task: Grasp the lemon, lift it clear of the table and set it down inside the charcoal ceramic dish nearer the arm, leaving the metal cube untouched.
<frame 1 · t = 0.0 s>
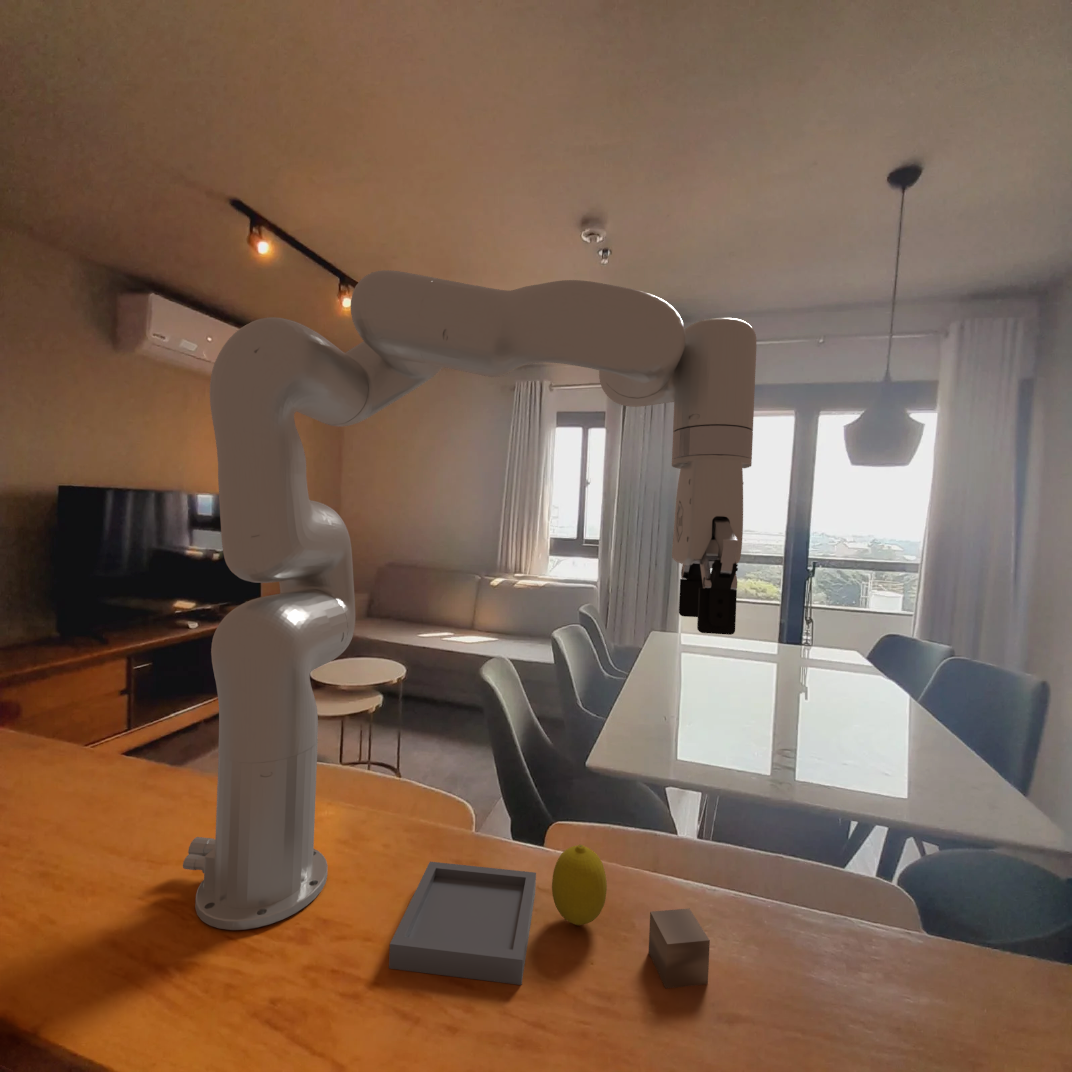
hand: (703, 624, 52), 31 cm above the worktop, tool pointing down, fingers open, 9 cm apart
dish: (469, 926, 53), on the worktop
metal cube: (677, 968, 49), on the worktop
lemon: (577, 926, 54), on the worktop
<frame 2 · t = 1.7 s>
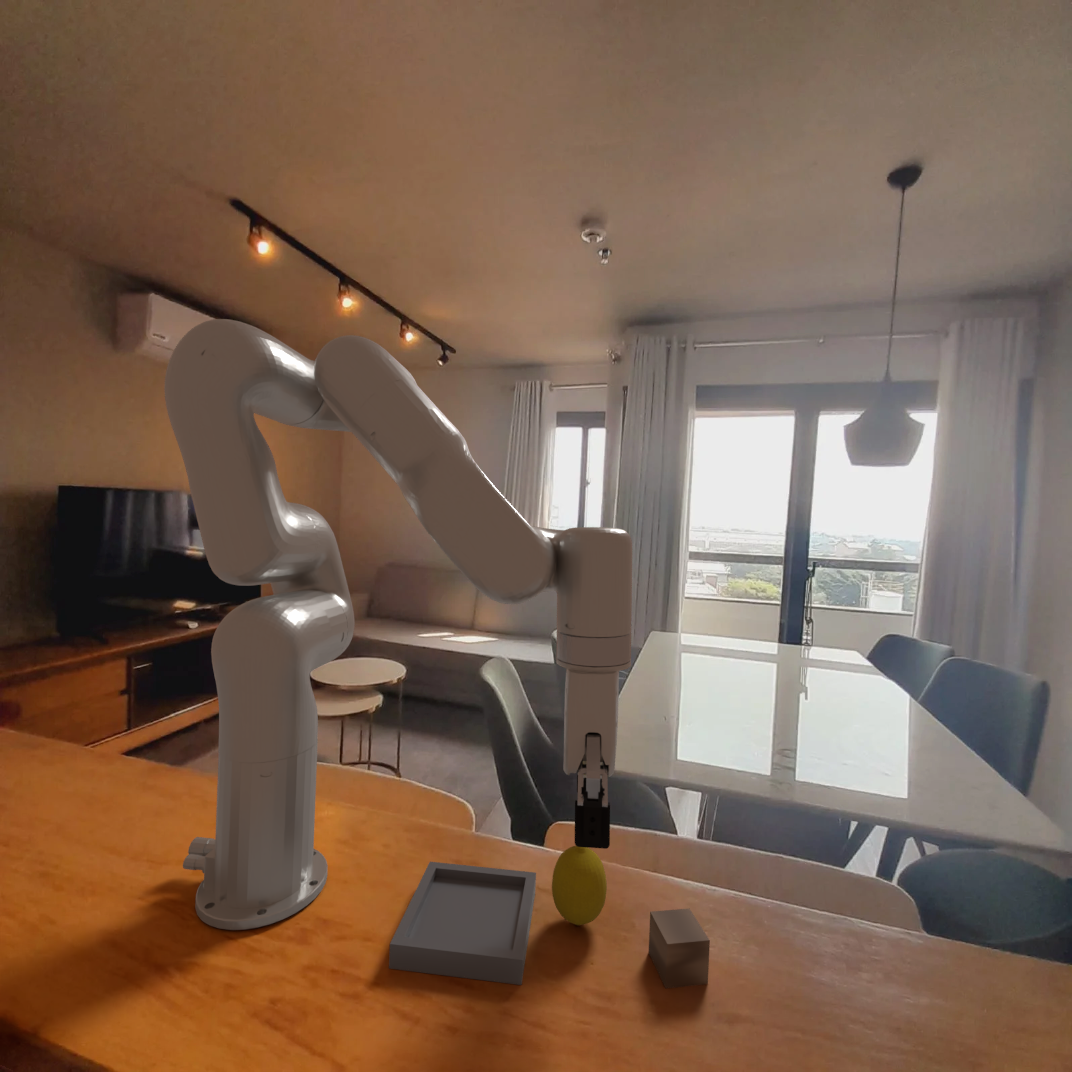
hand: (591, 817, 53), 11 cm above the worktop, tool pointing down, fingers open, 9 cm apart
nothing on the worktop moved.
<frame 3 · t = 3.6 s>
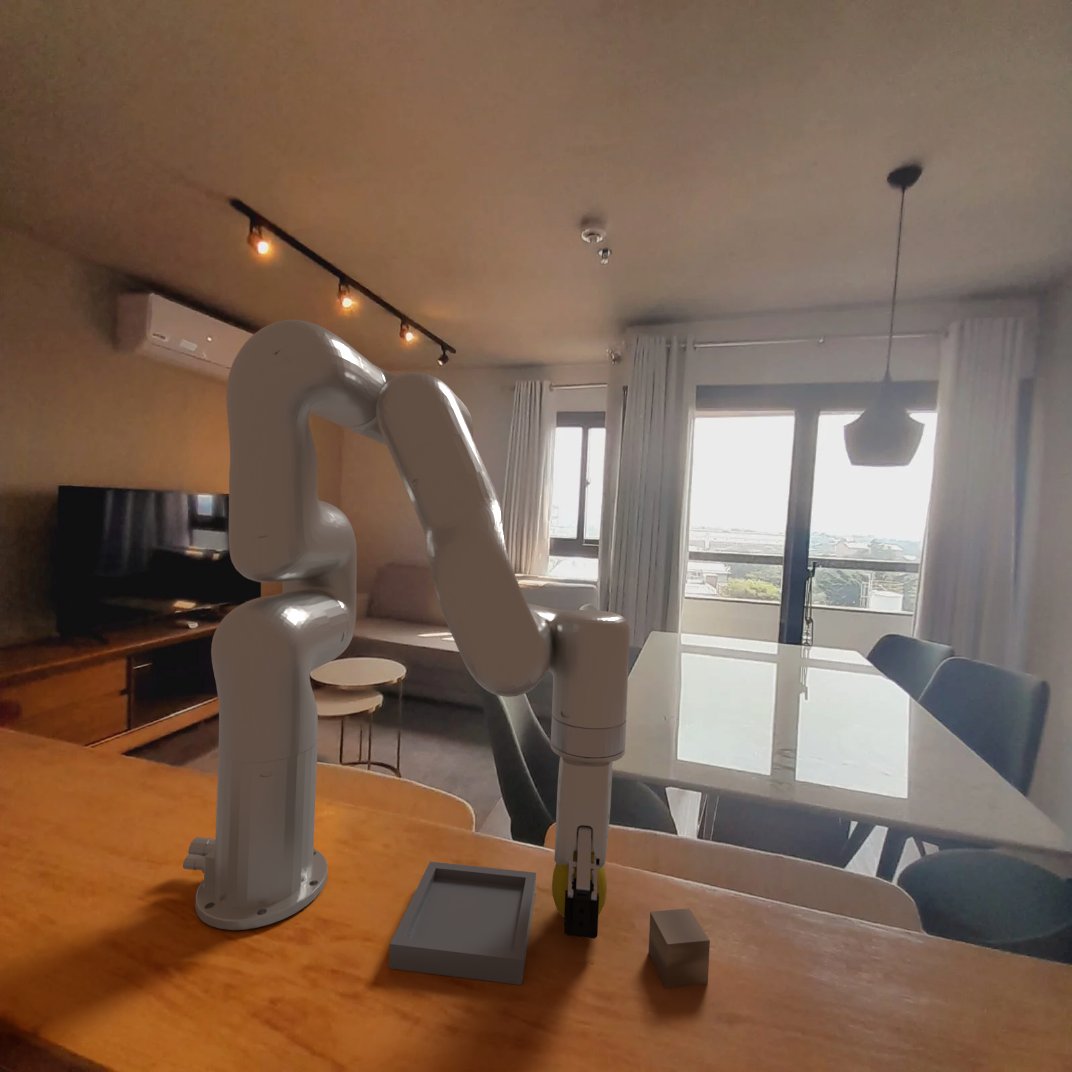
hand: (580, 909, 54), 2 cm above the worktop, tool pointing down, fingers closed on lemon, 5 cm apart
lemon: (577, 926, 54), on the worktop, touching gripper
everything else where it was.
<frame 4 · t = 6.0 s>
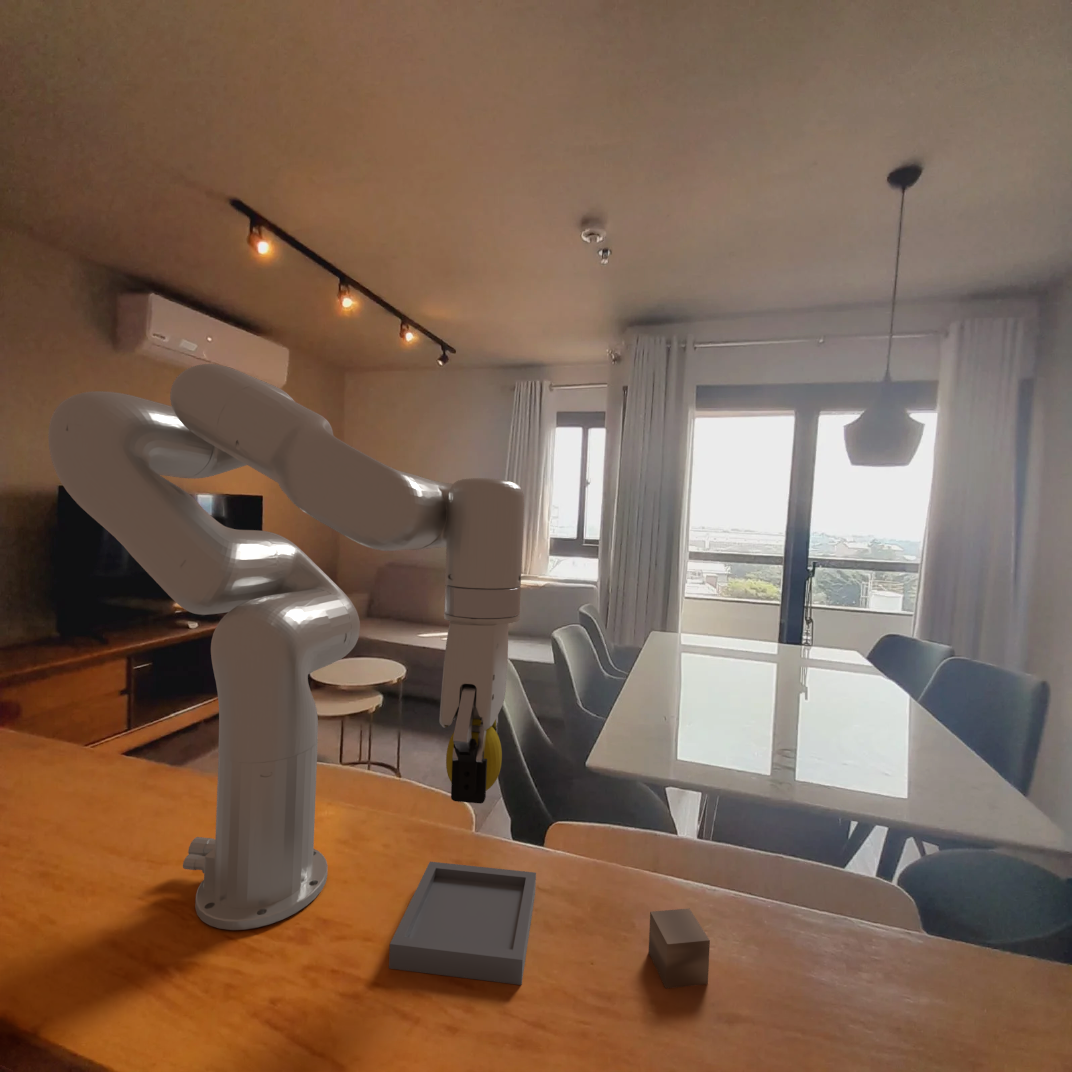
hand: (475, 783, 53), 14 cm above the worktop, tool pointing down, fingers closed on lemon, 5 cm apart
lemon: (472, 799, 53), point 13 cm above the worktop, touching gripper
everything else where it was.
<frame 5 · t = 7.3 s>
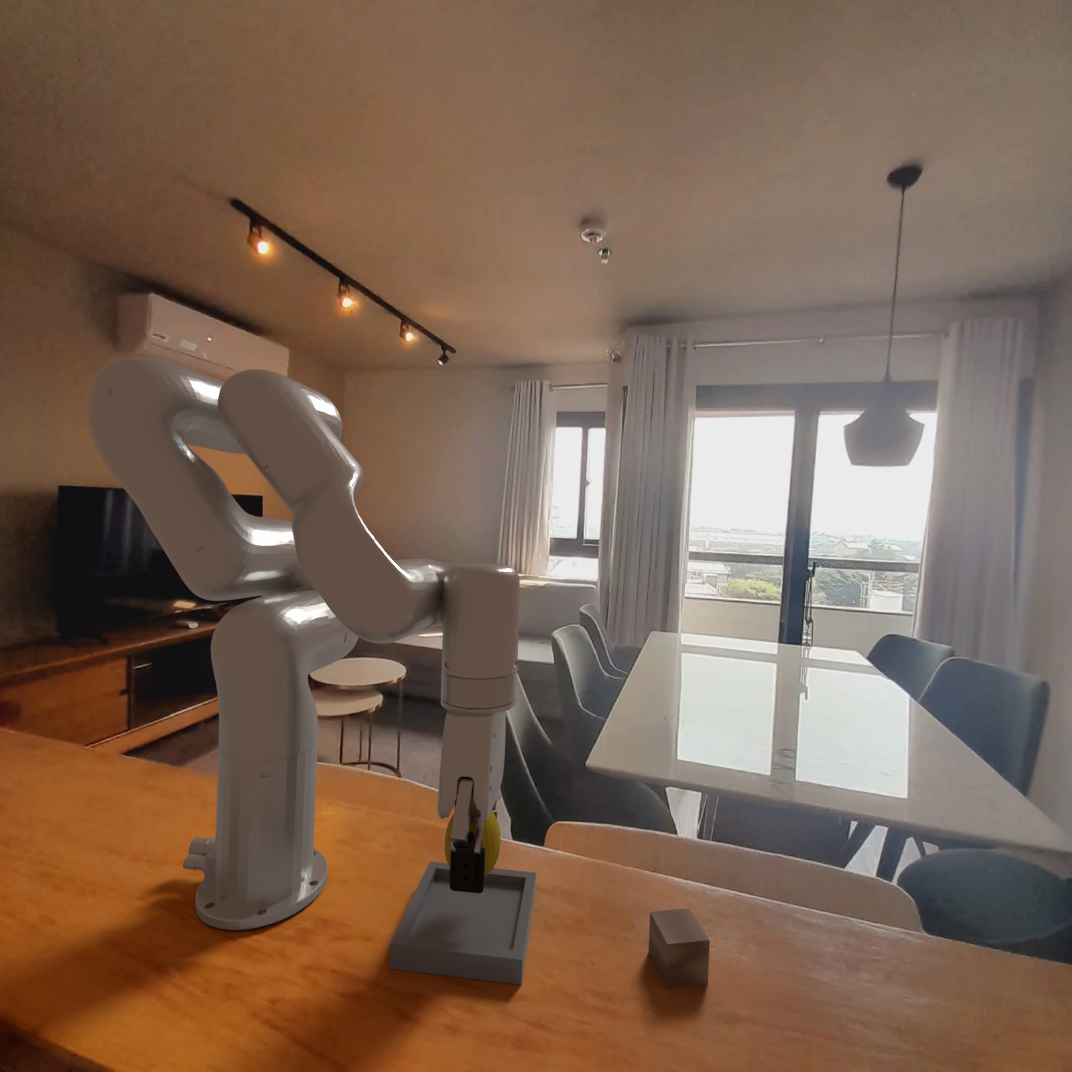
hand: (474, 867, 53), 6 cm above the worktop, tool pointing down, fingers closed on lemon, 5 cm apart
lemon: (471, 883, 53), point 4 cm above the worktop, touching gripper
everything else where it was.
when the fingers open (4 cm above the worktop, at t = 8.5 s): lemon drops 2 cm, resting on dish.
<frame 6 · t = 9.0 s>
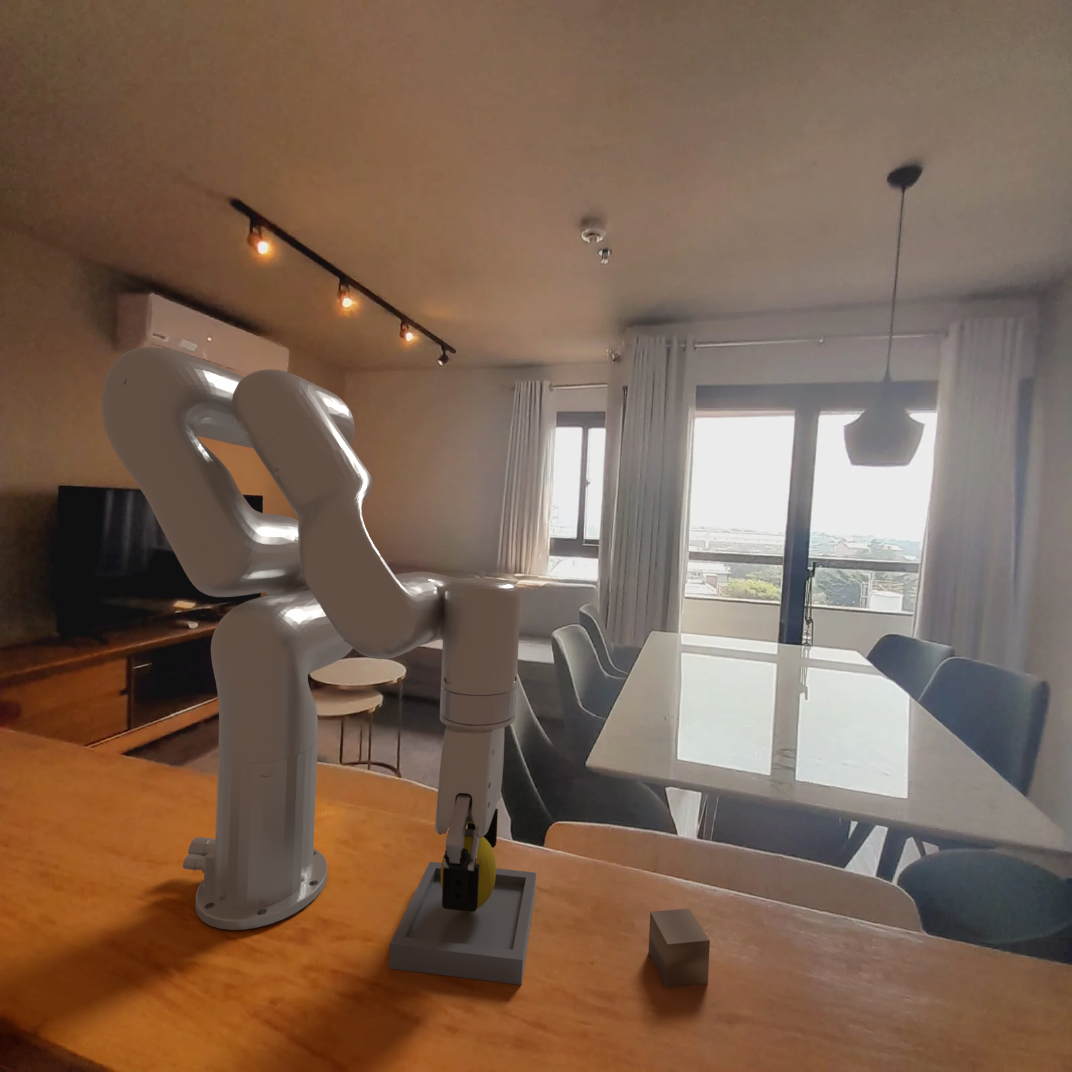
hand: (471, 873, 53), 5 cm above the worktop, tool pointing down, fingers open, 9 cm apart
lemon: (467, 913, 53), point 1 cm above the worktop, touching dish
everything else where it was.
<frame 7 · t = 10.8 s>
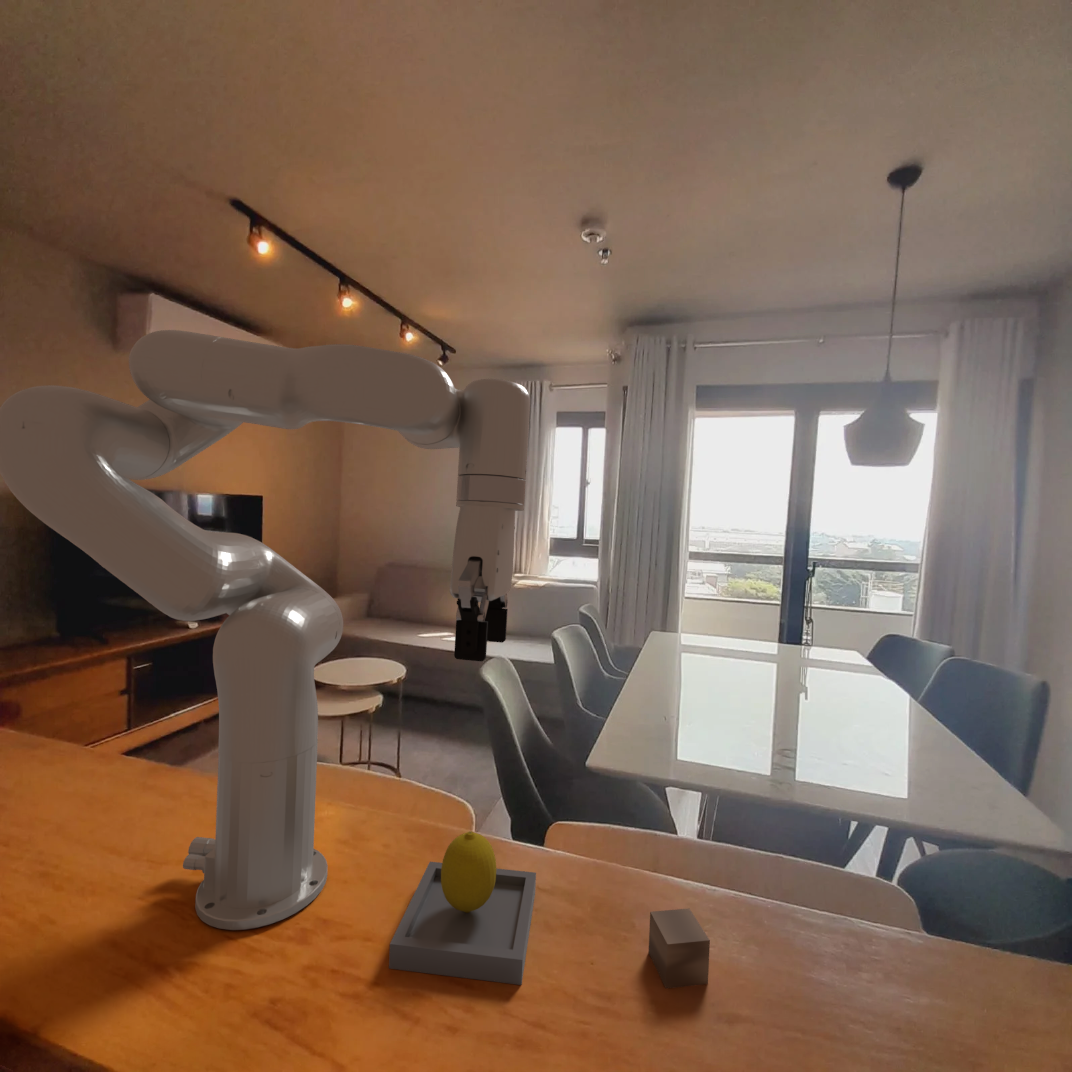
hand: (482, 649, 58), 26 cm above the worktop, tool pointing down, fingers open, 9 cm apart
nothing on the worktop moved.
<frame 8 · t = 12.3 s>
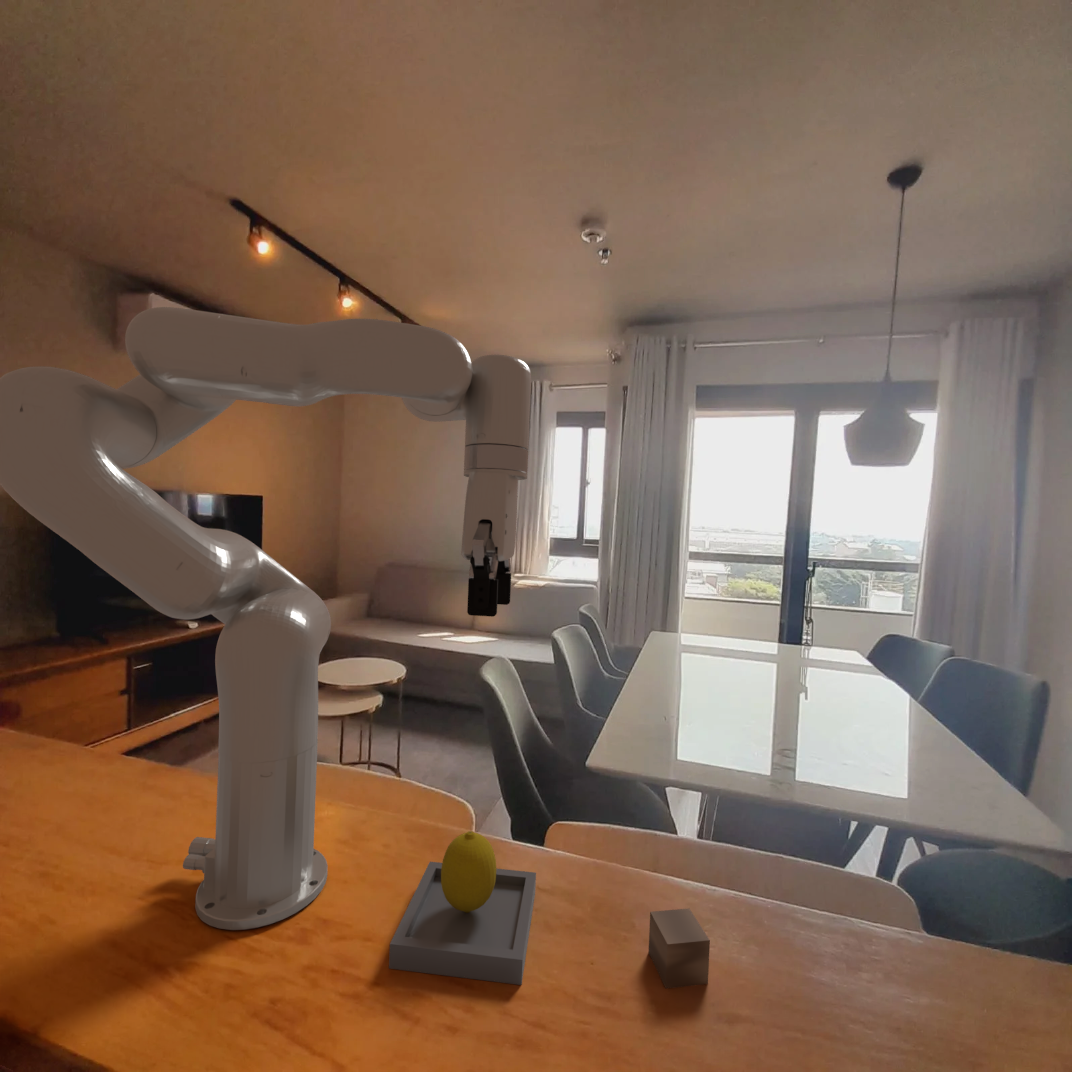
hand: (490, 609, 63), 30 cm above the worktop, tool pointing down, fingers open, 9 cm apart
nothing on the worktop moved.
at the end: lemon inside the target area on the dish (0.6 cm from its centre), point 1.0 cm above the dish's base; the gripper is holding nothing; metal cube moved 0.1 cm from its start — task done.
